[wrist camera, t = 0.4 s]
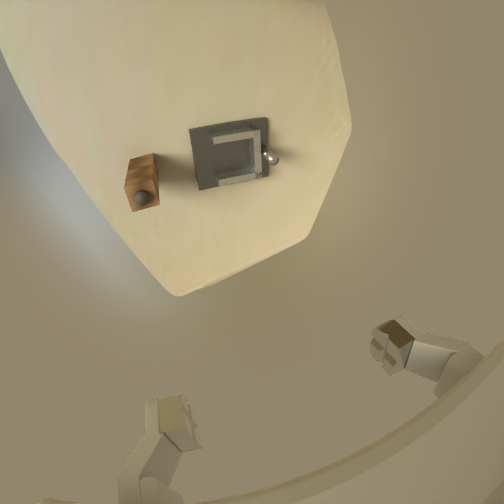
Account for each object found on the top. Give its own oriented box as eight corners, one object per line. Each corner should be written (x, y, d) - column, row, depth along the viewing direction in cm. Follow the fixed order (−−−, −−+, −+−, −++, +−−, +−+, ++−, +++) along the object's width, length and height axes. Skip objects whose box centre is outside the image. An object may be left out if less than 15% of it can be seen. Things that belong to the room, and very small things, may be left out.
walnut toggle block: (135, 180, 53) (132, 215, 43) (129, 159, 49) (123, 190, 39) (158, 174, 54) (159, 208, 44) (153, 153, 50) (152, 182, 40)
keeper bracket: (198, 188, 59) (204, 206, 54) (188, 129, 50) (193, 140, 44) (266, 174, 62) (280, 189, 57) (264, 117, 53) (279, 126, 47)
